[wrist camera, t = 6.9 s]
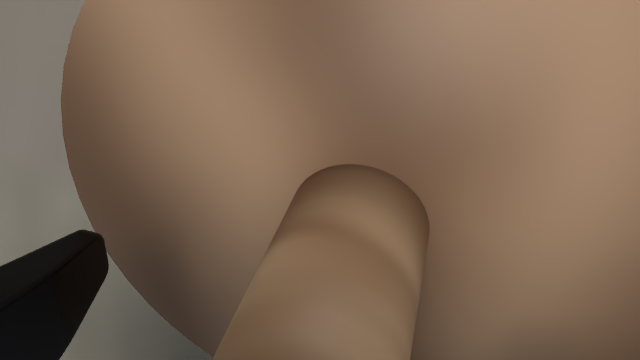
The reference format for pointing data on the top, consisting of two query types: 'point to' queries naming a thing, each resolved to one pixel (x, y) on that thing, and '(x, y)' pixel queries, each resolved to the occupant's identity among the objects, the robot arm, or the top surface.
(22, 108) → the top surface
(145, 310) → the top surface
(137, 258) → the lid
